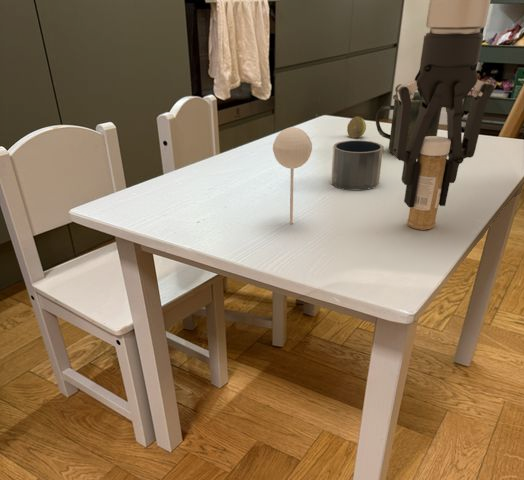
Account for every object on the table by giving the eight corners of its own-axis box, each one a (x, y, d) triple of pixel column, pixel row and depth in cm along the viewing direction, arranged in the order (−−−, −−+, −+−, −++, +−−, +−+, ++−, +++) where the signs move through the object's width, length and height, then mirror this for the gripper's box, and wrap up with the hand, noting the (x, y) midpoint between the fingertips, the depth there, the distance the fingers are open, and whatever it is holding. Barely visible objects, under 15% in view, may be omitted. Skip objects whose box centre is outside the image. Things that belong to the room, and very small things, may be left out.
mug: (436, 159, 112) (447, 101, 105) (371, 157, 115) (377, 99, 108) (434, 147, 121) (444, 92, 114) (373, 145, 124) (378, 91, 116)
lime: (364, 139, 128) (366, 118, 125) (345, 138, 129) (347, 118, 126) (365, 135, 132) (367, 115, 129) (347, 134, 133) (348, 114, 130)
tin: (372, 174, 104) (376, 139, 100) (384, 189, 97) (388, 151, 93) (327, 176, 104) (329, 141, 100) (335, 191, 96) (338, 153, 92)
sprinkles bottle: (440, 226, 81) (458, 139, 73) (420, 232, 79) (436, 144, 71) (419, 218, 84) (434, 133, 77) (400, 223, 83) (412, 137, 75)
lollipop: (287, 233, 80) (288, 134, 71) (265, 222, 84) (264, 127, 75) (316, 224, 83) (321, 128, 74) (294, 214, 87) (296, 121, 78)
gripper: (505, 27, 69) (468, 193, 83) (382, 30, 69) (365, 197, 83) (532, 30, 63) (487, 209, 77) (397, 34, 63) (376, 214, 76)
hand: (424, 203), depth 80 cm, fingers closed on sprinkles bottle, 4 cm apart
